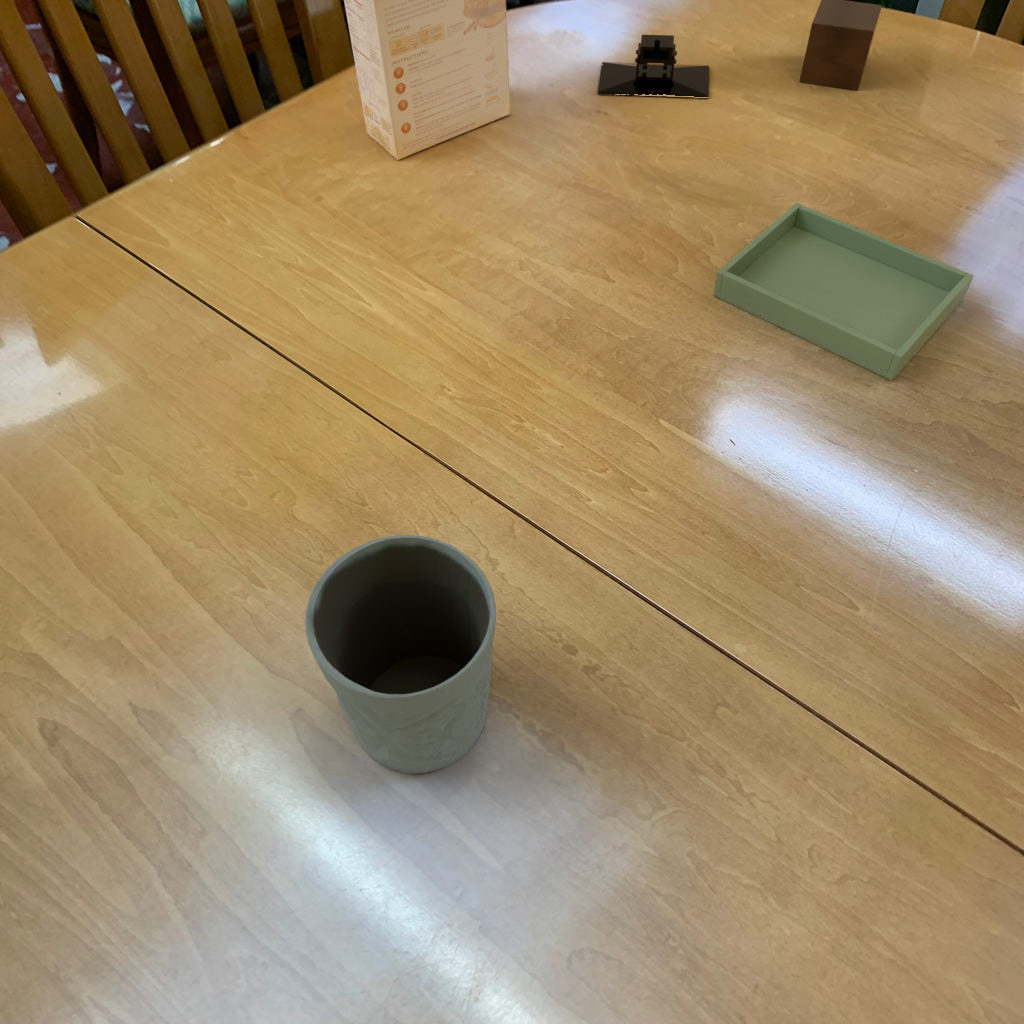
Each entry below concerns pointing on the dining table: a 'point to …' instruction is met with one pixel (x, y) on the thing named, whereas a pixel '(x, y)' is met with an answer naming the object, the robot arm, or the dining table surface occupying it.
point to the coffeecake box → (429, 68)
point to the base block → (840, 43)
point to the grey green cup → (406, 648)
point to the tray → (843, 289)
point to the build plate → (654, 72)
